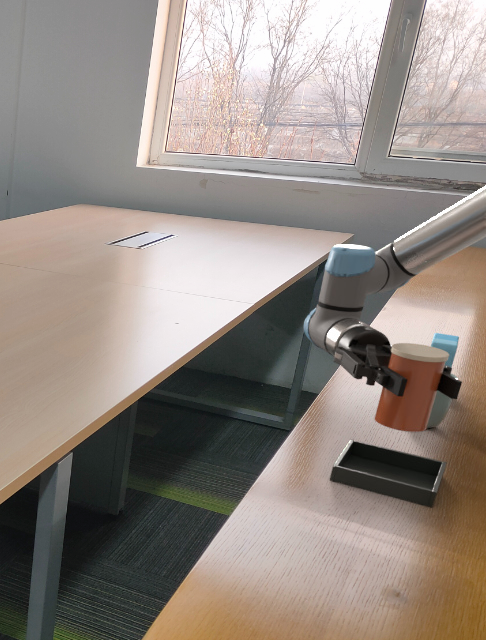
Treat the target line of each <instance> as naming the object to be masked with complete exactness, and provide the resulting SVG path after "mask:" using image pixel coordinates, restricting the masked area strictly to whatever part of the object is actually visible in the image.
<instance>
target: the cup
mask: <svg viewBox="0 0 486 640" xmlns="http://www.w3.org/2000/svg"><path fill="white" fill-rule="evenodd" d="M450 376H452V377H454V378H456V379H458V380H459V378H458V376H456V375H455V374H453V373H451V375H450ZM453 400H454V399H451V398H450V397H448V396H446V395H445V394H443V393H441V392H439V391H438V390H437V393H436V397H435V400H434V404H433V407H432V411H431V414H430V418H429V421H428V425H427V428H426V429H430V428H431V429H432V428H435V427H438V426H439V425H440V424H442V423H443V421H445V419H446V417H447V415H448V413H449V410H450V408H451V405H452V402H453Z"/></svg>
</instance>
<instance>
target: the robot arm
mask: <svg viewBox="0 0 486 640" xmlns="http://www.w3.org/2000/svg"><path fill="white" fill-rule="evenodd" d="M485 238H486V185H485V186H483V187H482V188H479V189H478V190H477V191H475V192H473V193H472V194H470V195H468V196H467V197H465V198H463V199H461V200H460V201H458V202H457V203H455V204H454V205H452V206H450V207H448V208H446V209H445V210H443V211H441V212H440V213H438V214H437V215H435V216H433V217H431V218H430V219H429V220H427V221H425V222H423V223H421V224H419V225H418V226H417V227H414V228H413V229H412V230H410V231H408V232H407V233H405V234H403V235H402V236H400V237H399V238H397V239H395V240H394V241H393V242H391V243H389V244H386V245H385V246H384V247H382V248H380V249H379V250H377V251H376V250H375V249H374V248H373V247H369V246H365V245H361V244H336V245H334V246H332V247H331V248H330V250H329V254H328V257H327V261H326V263H325V265H324V272H323V277H322V283H321V286H320V291H319V297H318V302H317V304H316V307H315V308H314V309H312V310H311V311H310V312H309V313H308V314H307V316H306V317H305V319H304V321H303V332H304V335H305V336H306V337H307V339H308V340H309V341H310V342H311V343H312V344H313V345H314V346H315V347H317V348H319V349H320V350H322V351H324V352H326V353H328V354H329V355H330V356H332V357H333V363H335V364H338V365H340V366H341V367H342V368H343V369H344V370H345V371H346V372H347V373H348V374H349V375H350V376H351V377H353V379H355V380H362V379H363V378H366V382H365V385H367V386H372V387H373V386H375V384H376V383H377V384H378V385H380V386H381V387H382V388H383V387H384V388H386V389H387V390H389V391H390V392H392V393H393V394H395V395H397V396H400V397H403V395H404V391H405V387H406V383H407V380H408V379H406V378H404V377H403V376H401V375H400V374H398V373H396V372H395V371H393V370H391V369H390V368H388V365H389V361H390V357H391V353H392V352H391V347H392V344H391V342H390V340H389V338H388V337H387V336H386V334H384V333H383V332H381V331H379V330H377V329H376V328H374V327H372V326H370V325H369V324H367V323H365V322H363V321H361V317H362V314H363V313H362V312H363V310H364V307H365V306H364V305H365V303H366V302H365V301H366V298H367V296H369V295H374V294H379V293H390V292H393V291H395V290H397V289H400V288H402V287H404V286H406V285H407V284H408V283H409V282H410V280H411V279H412V278H414V277H416V276H418V275H419V274H421V273H423V272H424V271H426V270H428V269H430V268H431V267H433V266H436V265H437V264H440V263H441V262H443V261H445V260H446V259H448V258H450V257H452V256H453V255H455V254H457V253H459V252H461V251H462V250H464V249H466V248H468V247H470V246H472V245H474V244H477V242H480V241H481V240H483V239H485ZM452 371H453V367H452V368H451V367H449V366H447V365H445V366H444V369H443V373H442V376H441V380H440V383H439V386H438V391H439V392H441V393H443V394H445V395H446V396H448V397H450V398H451V399H453V400H457V399H458V398H459V393H460V390H461V387H462V384H463V381H462V380H459V378H458V379H456V378H454V377H452V376H450V375H451V374H452Z"/></svg>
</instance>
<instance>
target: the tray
mask: <svg viewBox="0 0 486 640" xmlns="http://www.w3.org/2000/svg"><path fill="white" fill-rule="evenodd" d="M447 464H448V462H447V461H442V460H438V459H435V458H430V457H425V456H422V455H417V454H413V453H409V452H405V451H401V450H397V449H393V448H388V447H384V446H379V445H376V444H371V443H367V442H364V441H359V440H354V439H349V441H348V443H347V444H346V446H345V447H344V449H343V450H342V452H341V453H340V455H339V456H338V458H337V459H336V460H335V462H334V464H333V465H332V468H331V473H330V477H329V481H331V482H334V483H337V484H340V485H345V486H349V487H352V488H356V489H359V490H363V491H368V492H371V493H375V494H379V495H382V496H386V497H389V498H393V499H398V500H401V501H405V502H409V503H412V504H416V505H420V506H424V507H426V508H433V507H434V503H435V501H436V499H437V498H436V497H437V494H438V491H439V489H440V485H441V483H442V479H443V476H444V473H445V470H446V467H447Z"/></svg>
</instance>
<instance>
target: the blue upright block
mask: <svg viewBox="0 0 486 640" xmlns="http://www.w3.org/2000/svg"><path fill="white" fill-rule="evenodd" d="M459 339H460V336H458V335H453V334H445V333H439V332H434V334H433V338H432V341H431V344H430V346H431V347H435V348H438V349H441V350H444V351H446V352H447V353H449V357H448V360H447V361H446V362H445V365H447V366H449V367H451V368H452V369H453V364H454V361H455V357H456V354H457V350H458V346H459Z"/></svg>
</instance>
